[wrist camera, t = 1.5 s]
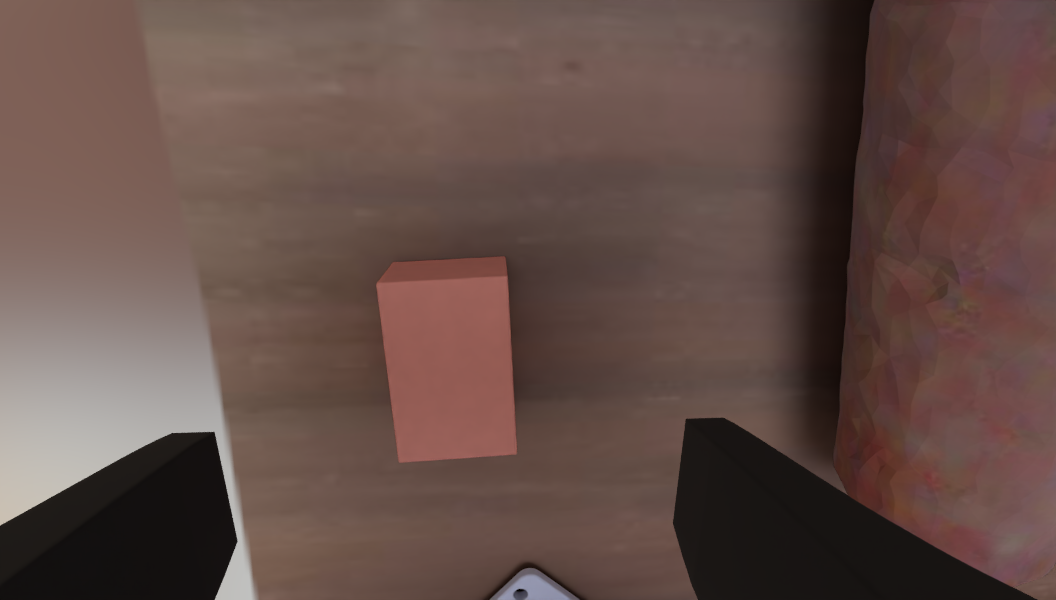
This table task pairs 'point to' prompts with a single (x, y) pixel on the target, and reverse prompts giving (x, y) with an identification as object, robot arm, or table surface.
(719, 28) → the table surface
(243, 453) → the table surface
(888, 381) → the food
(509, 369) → the salmon pink cuboid
